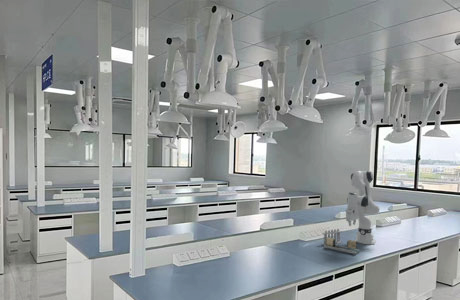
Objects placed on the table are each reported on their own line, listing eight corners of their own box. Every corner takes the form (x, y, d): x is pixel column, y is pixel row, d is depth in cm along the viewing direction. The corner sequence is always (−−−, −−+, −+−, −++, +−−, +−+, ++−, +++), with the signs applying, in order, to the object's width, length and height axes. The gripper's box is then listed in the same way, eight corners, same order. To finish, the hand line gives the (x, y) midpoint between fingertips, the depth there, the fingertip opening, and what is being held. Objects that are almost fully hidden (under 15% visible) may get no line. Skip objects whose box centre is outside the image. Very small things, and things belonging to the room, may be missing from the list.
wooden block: (348, 248, 291) (348, 239, 291) (355, 250, 287) (356, 241, 287) (346, 249, 288) (347, 240, 288) (354, 250, 284) (354, 242, 284)
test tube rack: (325, 245, 298) (325, 231, 299) (321, 244, 302) (321, 230, 302) (341, 242, 312) (342, 229, 312) (338, 241, 316) (338, 228, 316)
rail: (328, 246, 297) (328, 236, 297) (358, 252, 278) (359, 242, 278) (324, 248, 289) (324, 238, 289) (354, 255, 271) (355, 244, 271)
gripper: (353, 208, 298) (353, 223, 298) (344, 210, 283) (344, 226, 282) (360, 209, 294) (359, 224, 293) (351, 211, 279) (351, 227, 278)
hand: (352, 225), depth 288 cm, fingers open, 8 cm apart
